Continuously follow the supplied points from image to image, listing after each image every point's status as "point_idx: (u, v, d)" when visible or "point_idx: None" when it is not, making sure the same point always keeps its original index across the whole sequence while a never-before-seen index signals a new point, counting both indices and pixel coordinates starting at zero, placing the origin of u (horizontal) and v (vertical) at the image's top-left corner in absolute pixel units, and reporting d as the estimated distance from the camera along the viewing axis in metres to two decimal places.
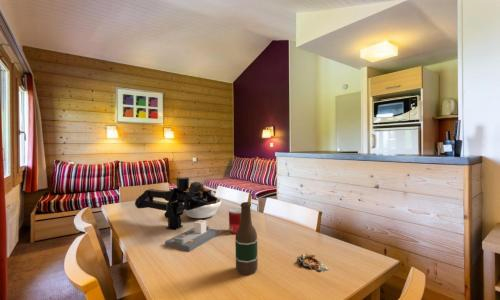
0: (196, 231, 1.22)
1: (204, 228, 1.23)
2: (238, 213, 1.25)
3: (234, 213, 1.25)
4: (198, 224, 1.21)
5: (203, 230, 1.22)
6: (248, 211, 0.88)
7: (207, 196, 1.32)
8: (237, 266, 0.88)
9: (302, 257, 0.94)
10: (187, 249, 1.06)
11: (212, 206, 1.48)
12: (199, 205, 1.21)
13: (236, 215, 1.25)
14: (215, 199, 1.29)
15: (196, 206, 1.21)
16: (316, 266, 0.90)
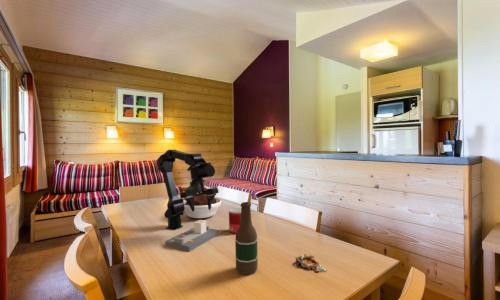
0: (196, 231, 1.22)
1: (204, 228, 1.23)
2: (238, 213, 1.25)
3: (234, 213, 1.25)
4: (198, 224, 1.21)
5: (203, 230, 1.22)
6: (248, 211, 0.88)
7: None
8: (237, 266, 0.88)
9: (301, 258, 0.94)
10: (187, 249, 1.06)
11: (212, 206, 1.48)
12: None
13: (236, 215, 1.25)
14: None
15: None
16: (314, 267, 0.89)
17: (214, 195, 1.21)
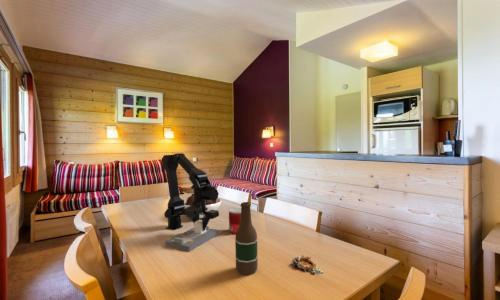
0: (196, 231, 1.22)
1: None
2: (238, 213, 1.25)
3: (234, 213, 1.25)
4: (198, 224, 1.21)
5: None
6: (248, 211, 0.88)
7: None
8: (237, 266, 0.88)
9: (297, 259, 0.93)
10: (187, 249, 1.06)
11: (212, 206, 1.48)
12: None
13: (236, 215, 1.25)
14: None
15: None
16: (310, 268, 0.88)
17: None
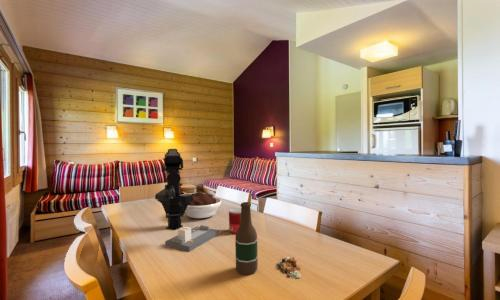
0: None
1: (189, 236, 1.13)
2: (238, 213, 1.25)
3: (234, 213, 1.25)
4: (182, 231, 1.11)
5: (188, 238, 1.12)
6: (248, 211, 0.88)
7: None
8: (237, 266, 0.88)
9: (285, 259, 0.93)
10: (187, 249, 1.06)
11: (212, 206, 1.48)
12: None
13: (236, 215, 1.25)
14: None
15: None
16: (289, 271, 0.86)
17: (187, 202, 1.14)
